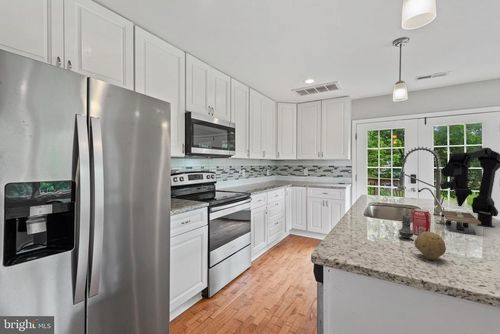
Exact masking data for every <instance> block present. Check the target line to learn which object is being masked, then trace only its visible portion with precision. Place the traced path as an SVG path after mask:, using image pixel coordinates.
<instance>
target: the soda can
mask: <svg viewBox="0 0 500 334" xmlns="http://www.w3.org/2000/svg"><path fill="white" fill-rule="evenodd" d="M431 218H432V216H431V213H430V210H429V209H424V208H414V209H413V212H412V218H411V219H412V221H411V227H412V229H411V231H413V232H414V235H416V236H419V235H420V234H421V233H423V232H427V231H429V232H431V224H432V223H431Z"/></svg>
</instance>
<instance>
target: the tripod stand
mask: <svg viewBox="0 0 500 334" xmlns="http://www.w3.org/2000/svg"><path fill="white" fill-rule="evenodd" d="M444 223H445V224H444V226H445V227H446V229H447V230H448V232H453V233H461V234H469V235H473V236H474V235H477V232H476V231H475V230H474V229H473V228H472V227H471V226H470V225H469V224H470V223H465V222H456V221H455V222H452V221H448V220H447V219H446V220H445V222H444Z"/></svg>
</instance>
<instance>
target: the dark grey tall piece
mask: <svg viewBox="0 0 500 334" xmlns="http://www.w3.org/2000/svg"><path fill="white" fill-rule="evenodd" d="M401 224H402V225H401V229H398V234H399V235H400V236H399V238H398V239H399V240H401V241H405V242H413V241H414V239H412V237H413V236H414V235H415V233H414V232H413V231H412V229H411V225H412V222H411V216H410V215H408V213H407V212H406V213H405V214H404V215H403V216H402V222H401Z"/></svg>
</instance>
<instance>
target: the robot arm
mask: <svg viewBox="0 0 500 334" xmlns="http://www.w3.org/2000/svg"><path fill="white" fill-rule="evenodd" d="M475 159H477V161H478V162H479V166H480V168H481V169H482V173H481V174H482V175H481V181H480V187H479V190H478V191H479V192H478V195H477V196H475V197H473V198H472V203H471V209H472V213H473V214H477V217H476V218H477V219H478V220H479V221H480V222H481V224H476V225H477V226H479V227H487V228H489V227H490V228H495V225H493V217H498V215H499V211H498V209H497V208H496V205H495V201H494V199H493V198H492V194H493V190H494V189H493V188H494V183H495V177H496V172H497V171H498V170H499V169H500V153H499V152H497V151H494V150H493V149H491V147H478V148H475V149H472V150H468V151H465V152H453V153H452V155H451V156H450V157H449V160H448V161H447V163H445V166H443V167H442V169H441V174H442V176H444V177H445V178H446V177H447V178H451V180H449V181H447V180H445V181H443V182H439V187H440V189H441V190H442V191H443V190H447V189H449V191H451V193H452V194H453V195H454V196H455V199H456V204H457V206H458V207H462V206H463V204H464V203H465V201H466V200H467V198H468V197H469V196H473V190H472V189H470V187H469V182H470V179H469V170H470V169H469V168H471V165H470V163H472V162H473V161H474V160H475Z"/></svg>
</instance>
